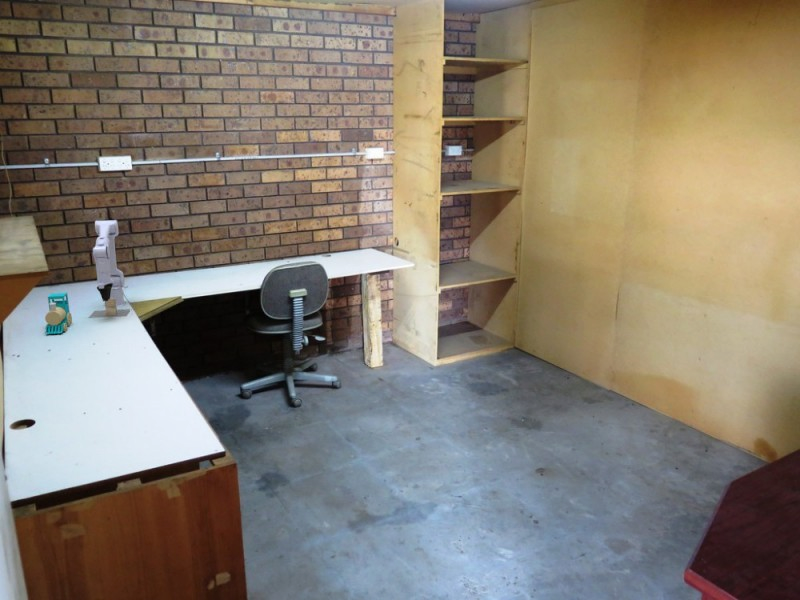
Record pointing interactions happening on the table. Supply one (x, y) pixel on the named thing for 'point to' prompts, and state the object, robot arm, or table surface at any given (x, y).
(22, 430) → the table surface
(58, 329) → the toy train
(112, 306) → the maple block
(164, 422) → the table surface
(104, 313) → the slate mat
